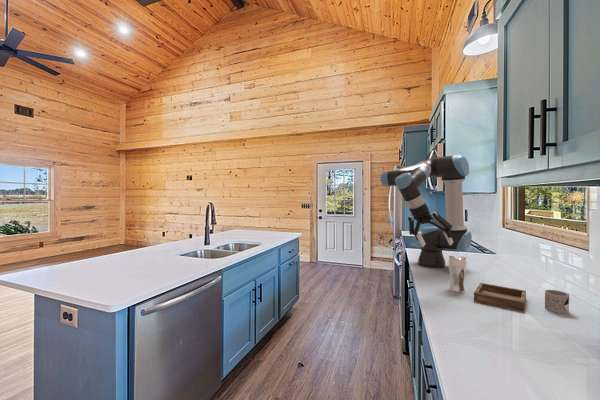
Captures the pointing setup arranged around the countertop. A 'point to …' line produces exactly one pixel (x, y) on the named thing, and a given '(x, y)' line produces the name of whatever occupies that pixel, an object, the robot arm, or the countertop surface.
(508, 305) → the tray
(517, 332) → the countertop surface
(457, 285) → the beer glass
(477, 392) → the countertop surface
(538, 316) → the countertop surface
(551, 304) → the mug
